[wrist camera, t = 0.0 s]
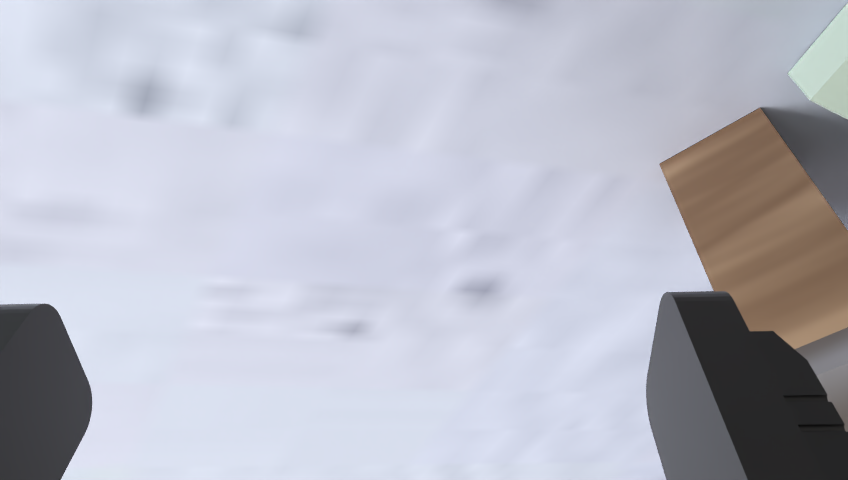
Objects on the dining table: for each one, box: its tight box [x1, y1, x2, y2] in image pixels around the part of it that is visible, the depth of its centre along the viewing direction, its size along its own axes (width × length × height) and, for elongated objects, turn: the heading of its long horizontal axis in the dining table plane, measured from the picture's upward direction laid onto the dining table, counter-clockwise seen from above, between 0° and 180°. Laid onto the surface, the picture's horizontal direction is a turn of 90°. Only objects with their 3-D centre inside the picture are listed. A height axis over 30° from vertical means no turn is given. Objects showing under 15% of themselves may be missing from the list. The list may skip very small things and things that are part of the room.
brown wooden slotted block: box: [660, 108, 848, 432], centre depth 24 cm, size 4×4×11 cm
